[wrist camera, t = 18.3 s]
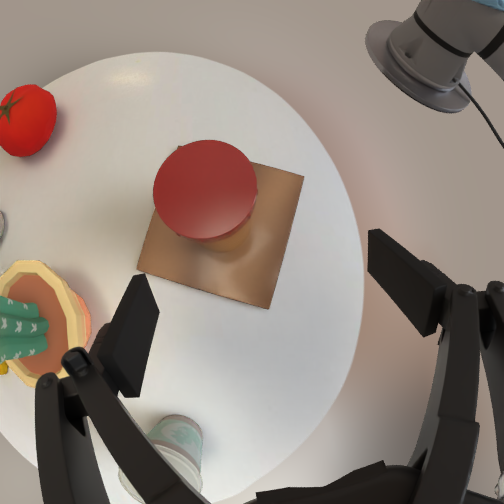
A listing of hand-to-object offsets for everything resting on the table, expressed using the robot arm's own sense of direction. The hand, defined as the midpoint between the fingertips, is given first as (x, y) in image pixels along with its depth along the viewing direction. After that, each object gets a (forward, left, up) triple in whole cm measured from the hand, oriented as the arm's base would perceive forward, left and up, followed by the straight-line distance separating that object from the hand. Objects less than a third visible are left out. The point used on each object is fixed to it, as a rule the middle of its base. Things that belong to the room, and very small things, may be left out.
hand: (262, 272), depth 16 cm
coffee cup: (+4, +22, -17) cm, 28 cm away
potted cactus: (+23, +13, -17) cm, 31 cm away
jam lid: (+6, -5, -4) cm, 9 cm away
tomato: (+40, -12, -17) cm, 45 cm away
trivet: (+6, -5, -17) cm, 18 cm away
